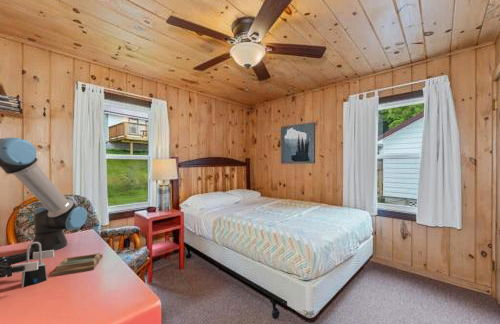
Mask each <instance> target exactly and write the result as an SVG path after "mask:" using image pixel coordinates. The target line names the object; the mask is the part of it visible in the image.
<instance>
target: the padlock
mask: <svg viewBox="0 0 500 324" xmlns="http://www.w3.org/2000/svg"><path fill="white" fill-rule="evenodd" d="M32 244H38V246H39V259H38V270H33V271H26V272H21V274H22V276H21V283H20V284H21V287H22V288H26V287H30V286H34V285H38V284H39V283H40V284H41V283H43V282H46V281H48V274H47V267H46V264H45V263H44V262H43V261H42V260H43V259H42V253H41V244H40V243H39V242H33V241H32V242H30V243H28V244H27V247H26V252H27V261H26V263H30V260H29V252H30V247H31V245H32Z"/></svg>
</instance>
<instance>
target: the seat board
mask: <svg viewBox="0 0 500 324" xmlns="http://www.w3.org/2000/svg"><path fill="white" fill-rule="evenodd" d="M102 258H103V253H102V254H101V253H100V252H99V253H93V254H85V255H79V256H71V257H65V258H63V260H62V261H61V262H60V263H58V265H56V266H55V270H54V271H52V272H51V278H52V277H53V278H54V277H57V276H62V275H63V276H64V275H65V276H66V275H71V274H76V273H82V272H87V271H88V272H89V271H93V270H95V268H96V267H97V265H98V264H99V263H100V261H101V260H102Z"/></svg>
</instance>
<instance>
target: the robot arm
mask: <svg viewBox="0 0 500 324" xmlns="http://www.w3.org/2000/svg"><path fill="white" fill-rule="evenodd" d="M38 162H39V159H38V158H37V149H36V147H35V146H34V145H33V144H32V142H30V141H29V140H26V139H25V138H21V137H5V138H0V168H1V170H2V171H4V173H5V174H7V175H13V176H15V177H16V178H17V180H18V181H20V183H21V184H22V185H23V186H24V187H25V188H26V189H27V190H28V191H29V192H30V193H31V194H32V195H33V197H35V198H36V200H38V201H39V203H41V205H43V206H41V207H40V206H39V207H37V208H35V209H34V212H33V217H34V221H33V222H34V237H33V239H32V242H39V243H40V244H41V253H42V260H43V259H49V258H55V251H56V250H60V249H63V248H65V247H66V246H68V240H67V237H66V235H65V233H64V230H66V231H67V230H69V231H72V230H73V231H74V230H78V229H80V228H82V226H84V224H85V223H86V222H87V217H88V212H87V210H86V208H84V207H82V206H77V205H76V203H74V201H73V200H72V199H67V198H66V197H65V196H64V194H62V192H61V191H60V189H58V188H57V187H56V185H55V184H54V182H52V180H51V179H50V178H49V177H48V176H47V175H46V174H45V172H44V171H43V170H42V169H41V168H40V167H39V166H38ZM30 260H32V262H31V261H30ZM35 260H38V261H35ZM24 262H25V263H24ZM38 263H39V246H38V244H32V245H31V246H30V248H29V263H27V251H26V252H22V253H17V254H13V255H7V256H0V278H1V279H2V278H5V277H7V278H11V277H12V276H13V274H18V273H19V274H20V273H23V272H26V271H33V270H38Z"/></svg>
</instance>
